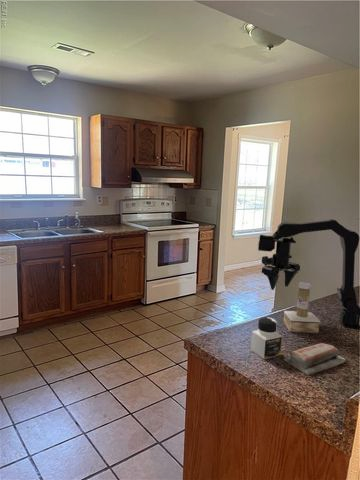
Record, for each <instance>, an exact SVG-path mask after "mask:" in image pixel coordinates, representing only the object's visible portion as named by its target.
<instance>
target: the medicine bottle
mask: <svg viewBox="0 0 360 480" xmlns="http://www.w3.org/2000/svg"><path fill="white" fill-rule="evenodd" d="M277 328H278V322H277V320H275V319H274V318H272V317H266V316H264V317H261V318H259V319H258V325H257V329H256V330H255V329H254V330H252V332H251V342H250V350H251V352H253V353H255V354H256V355H258V356H259V357H260V358H262V359H263V360H267V359H271V358H274V357H277V356H281V349H282V348H281V347H282V338H283V337H282V335H281V334H279V333H278V332H277Z"/></svg>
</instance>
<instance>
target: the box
mask: <svg viewBox="0 0 360 480" xmlns="http://www.w3.org/2000/svg"><path fill="white" fill-rule="evenodd" d="M283 324H284V325H285V327H287V329H288V330H289V332H290V333H307V334H319V331H320V330H319V329H320V322H302V321H291V320H290V319H289V318H288V317H287V315H286V314H285V313H284V312H283Z"/></svg>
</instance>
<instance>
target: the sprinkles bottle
mask: <svg viewBox="0 0 360 480" xmlns="http://www.w3.org/2000/svg"><path fill="white" fill-rule="evenodd" d="M311 286H312V284H311V283H309V282H306V281H305V282H304V281H300V282H298V286H297V287H298V292H297V300H296V301H297V303H296V311H297V313H296V315H297V316H300V317H307V316H308V312H309V307H310V306H309V305H310V291H311Z"/></svg>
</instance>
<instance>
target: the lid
mask: <svg viewBox="0 0 360 480" xmlns="http://www.w3.org/2000/svg"><path fill="white" fill-rule="evenodd" d="M284 313H285V314H286V315H287V317H288V318H289V319H290V320H291V321H302V322H319V323H321V320H320V319H319V318H318V317H317V316H316V315H315V314H313V312H311V311H308V316H307V317H300V316H297V315H296V313H297V310H295V311H294V310H283V314H284Z"/></svg>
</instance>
